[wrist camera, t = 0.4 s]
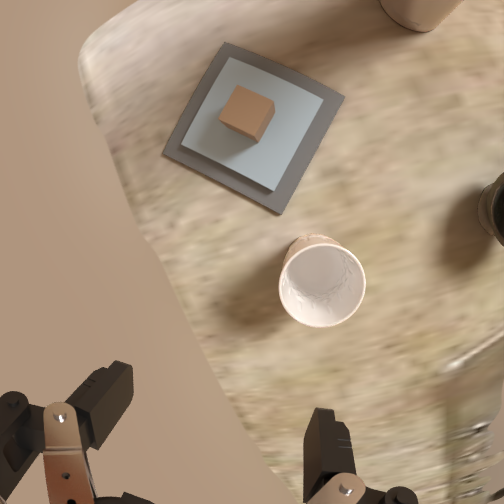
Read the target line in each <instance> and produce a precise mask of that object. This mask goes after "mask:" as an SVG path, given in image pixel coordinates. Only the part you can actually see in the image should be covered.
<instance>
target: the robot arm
mask: <svg viewBox="0 0 504 504" xmlns="http://www.w3.org/2000/svg"><path fill="white" fill-rule="evenodd" d="M462 1H463V0H380V3H381V5H382V7H383V9H384V10H385V11H386V13H387V14H388V15H389V16H390V17H391V18H392V19H393V20H394V21H396V22H397V23H399V24H400V25H402V26H404V27H406V28H408V29H411V30H414V31H419V32H427V31H431V30H433V29H435V28H436V27H437V26H438V25H439V24H440V23H441V22H442V21H443V20H444V19H445V18H446V17H447V16H448V15H449V14H450V13H451V12H452V11H453V10H454V9H455V8H456V7H457V6H458V5H459V4H460V3H461V2H462ZM133 393H134V391H133V368H132V366H131V365H129V364H126V363H123V362H120V361H114V362H113V363H112V364H111V365H110V366H109V368H108V369H107V368H104V367H102V368H100V369H98V370H95V371H94V372H93V373H92V374H91V375H90V376H89V377H88V378H87V379H86V380H85V381H84V382H83V383H82V384H81V385H80V386H79V387H78V388H77V389H76V390H75V391H74V392H73V394H72V395H71V396H70V397H69V398H68V399H67V400H66V401H65V402H55V403H52V404H50V405H48V406H47V407H46V408H45V407H40V406H36V405H31V404H29V402H28V399H27V397H26V396H25V395H24V394H22V393H20V392H17V391H10V392H7V393H5V394H3V395H2V396H1V397H0V504H6V500H7V499H8V497H9V496H10V494H11V493H12V491H13V490H14V489H15V487H16V486H17V484H18V483H19V481H20V480H21V479H22V477H23V476H24V474H25V473H26V471H27V470H28V469H29V467H30V466H31V464H32V463H33V462H34V460H35V459H36V457H37V456H38V455H39V453H43V460H44V468H45V477H46V484H47V490H48V497H49V502H50V504H154V503H152V502H151V501H148V500H145V499H143V498H140V497H137V496H134V495H132V494H129V493H126V492H124V493H123V495H122V497H121V498H120V497H98V495H97V492H96V489H95V486H94V482H93V479H92V474H91V471H90V466H89V462H88V458H87V454H86V451H87V449H88V448H89V447H92V448H94V449H96V450H99V448H100V447H101V445H102V444H103V443H104V441H105V440H106V438H107V436H108V435H109V434H110V432H111V431H112V429H113V428H114V426H115V425H116V424H117V422H118V420H119V419H120V418H121V416H122V415H123V413H124V412H125V410H126V409H127V407H128V406H129V405H130V403H131V401H132V397H133ZM350 440H351V439H350V433H349V430H348V428H347V427H346V426H345V424H344V423H343V422H338V421H335V415H334V410H333V409H324V408H315V410H314V412H313V415H312V418H311V420H310V423H309V425H308V428H307V430H306V433H305V437H304V443H303V455H304V479H303V503H306V504H418V499H417V496H416V494H415V493H414V492H413V491H412V490H410V489H408V488H406V487H401V486H398V487H393V488H391V489H390V490H388V491H387V493H386V492H382V491H378V490H374V489H371V488H368V487H366V486H365V484H364V482H363V480H362V479H361V478H360V477H358V476H357V475H356V469H355V463H354V457H353V451H352V445H351V441H350Z"/></svg>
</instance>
